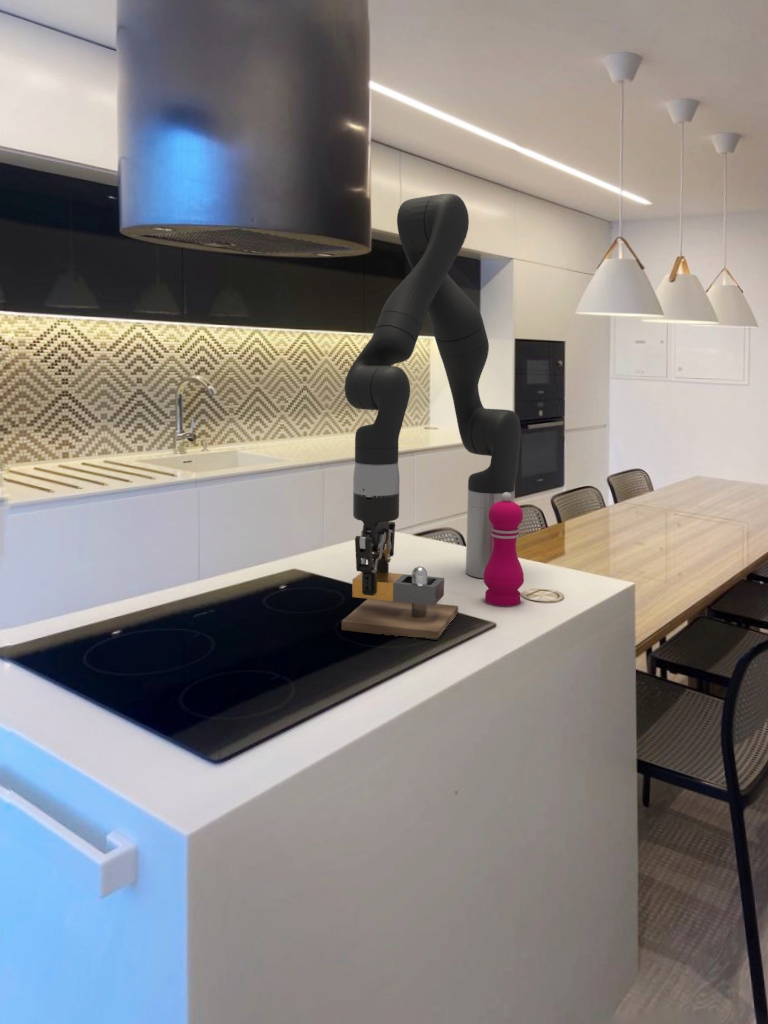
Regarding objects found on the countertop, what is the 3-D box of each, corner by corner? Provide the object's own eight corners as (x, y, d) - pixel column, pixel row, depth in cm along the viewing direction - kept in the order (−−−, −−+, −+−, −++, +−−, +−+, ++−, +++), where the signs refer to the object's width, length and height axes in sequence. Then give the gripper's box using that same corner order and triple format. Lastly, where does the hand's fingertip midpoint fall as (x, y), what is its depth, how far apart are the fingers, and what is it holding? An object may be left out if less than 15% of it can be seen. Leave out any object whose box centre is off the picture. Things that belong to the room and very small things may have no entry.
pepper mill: (522, 608, 144) (526, 496, 140) (480, 606, 145) (484, 494, 142) (523, 597, 151) (528, 489, 147) (484, 594, 152) (487, 488, 148)
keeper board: (369, 605, 145) (369, 597, 145) (457, 614, 141) (458, 605, 140) (341, 630, 132) (341, 621, 132) (437, 641, 127) (438, 631, 127)
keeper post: (413, 612, 137) (414, 564, 135) (428, 613, 136) (429, 565, 134) (409, 616, 134) (410, 567, 133) (424, 618, 134) (425, 569, 132)
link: (364, 587, 141) (364, 570, 140) (443, 595, 136) (444, 577, 136) (352, 597, 135) (352, 579, 134) (434, 605, 131) (435, 587, 130)
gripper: (368, 482, 141) (368, 576, 145) (339, 495, 128) (339, 599, 131) (410, 484, 139) (409, 580, 142) (384, 498, 126) (383, 603, 129)
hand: (375, 589), depth 137 cm, fingers closed on link, 6 cm apart
